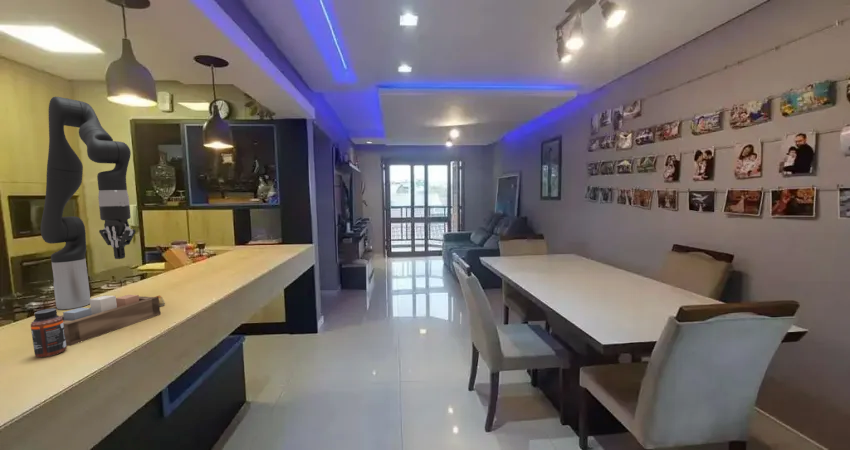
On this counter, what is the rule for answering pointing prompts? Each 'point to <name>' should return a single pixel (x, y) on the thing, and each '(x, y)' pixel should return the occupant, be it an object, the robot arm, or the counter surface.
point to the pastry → (161, 301)
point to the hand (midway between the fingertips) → (119, 258)
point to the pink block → (126, 300)
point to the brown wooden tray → (110, 320)
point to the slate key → (77, 313)
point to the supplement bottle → (48, 333)
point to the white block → (102, 304)
